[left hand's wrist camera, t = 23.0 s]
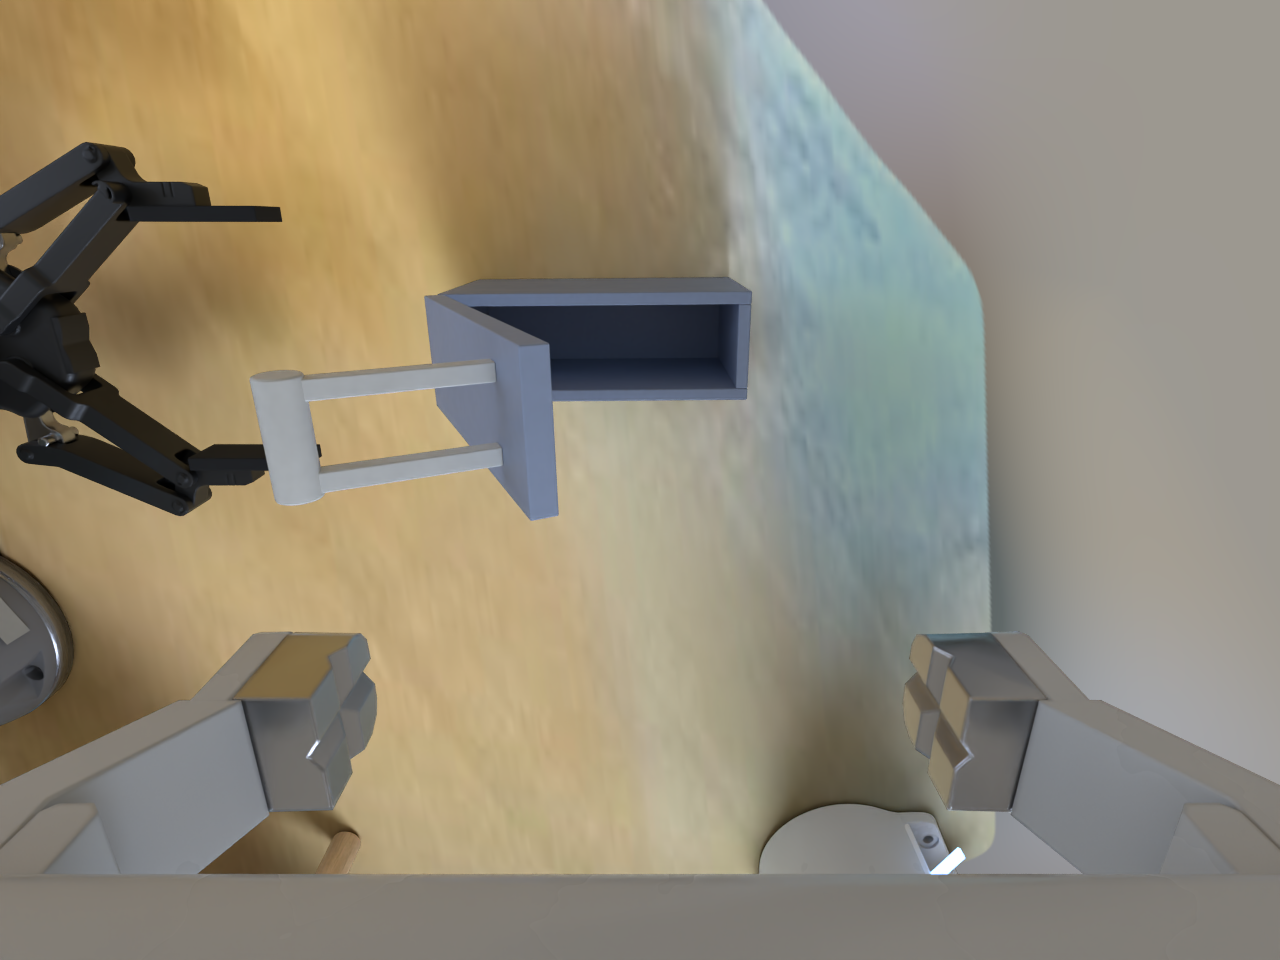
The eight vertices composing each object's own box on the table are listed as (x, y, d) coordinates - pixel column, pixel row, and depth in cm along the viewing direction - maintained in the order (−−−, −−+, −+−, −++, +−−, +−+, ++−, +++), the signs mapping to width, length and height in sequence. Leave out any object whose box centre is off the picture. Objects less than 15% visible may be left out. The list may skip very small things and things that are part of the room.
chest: (729, 277, 44) (752, 291, 35) (726, 365, 46) (747, 399, 37) (478, 279, 44) (437, 294, 35) (486, 367, 46) (448, 402, 37)
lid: (549, 342, 21) (235, 368, 17) (559, 516, 23) (278, 569, 19) (444, 294, 35) (260, 304, 31) (455, 403, 37) (283, 423, 33)
